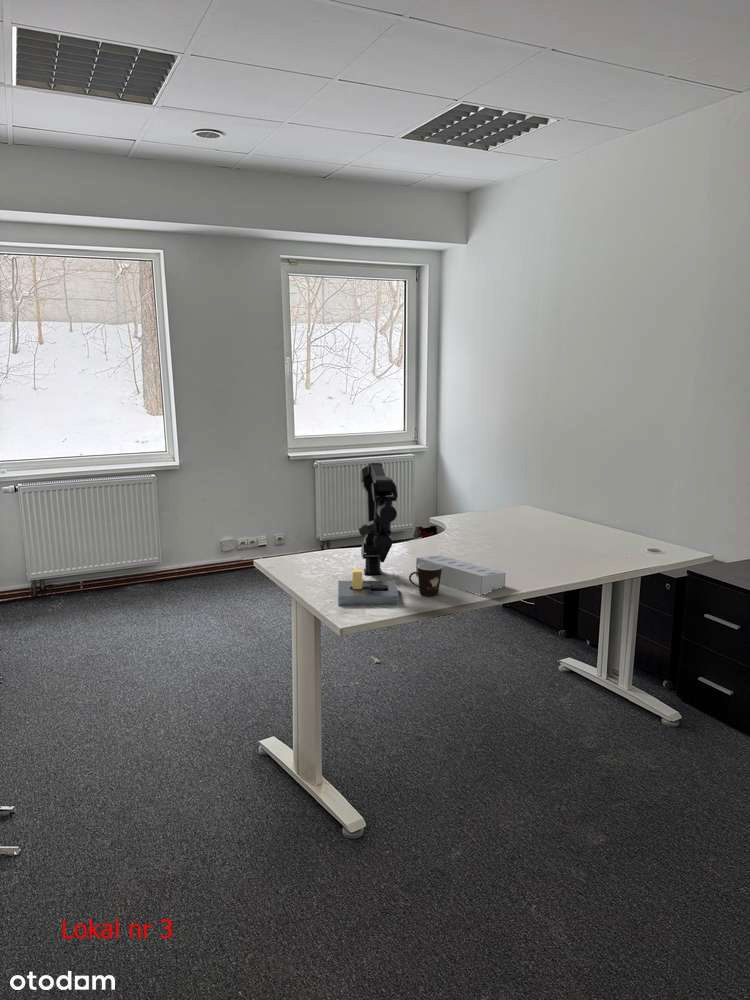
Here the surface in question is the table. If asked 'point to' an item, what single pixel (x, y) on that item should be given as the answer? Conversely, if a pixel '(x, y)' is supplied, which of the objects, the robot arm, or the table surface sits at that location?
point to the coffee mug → (428, 578)
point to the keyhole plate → (368, 593)
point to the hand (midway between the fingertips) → (382, 558)
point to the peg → (357, 579)
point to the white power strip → (466, 575)
